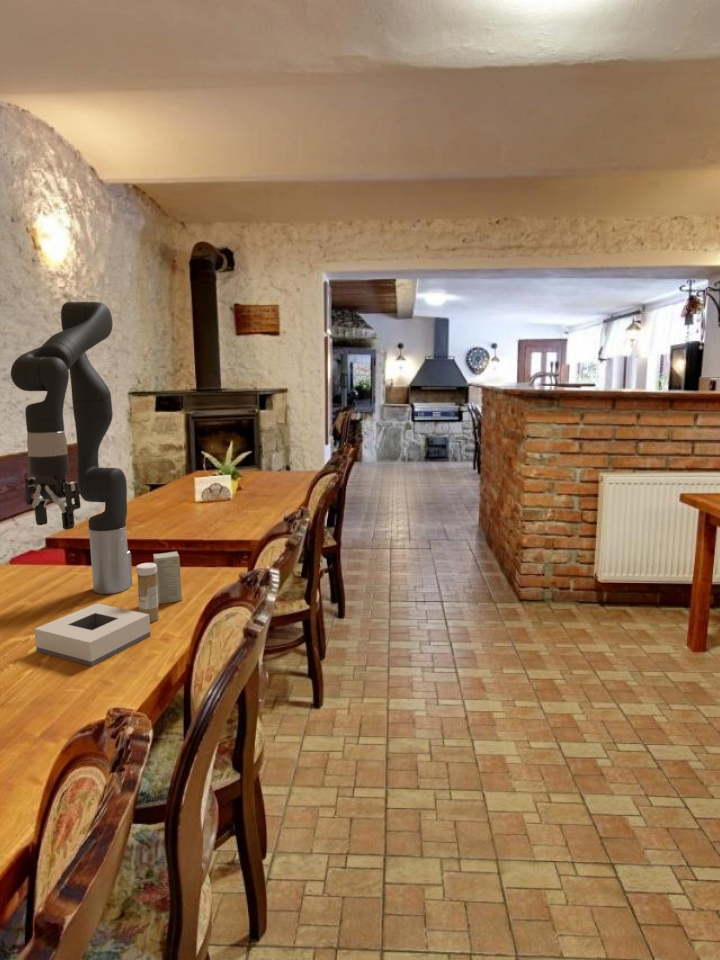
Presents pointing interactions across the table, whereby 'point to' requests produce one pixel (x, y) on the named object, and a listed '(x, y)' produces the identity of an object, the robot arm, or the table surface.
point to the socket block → (92, 633)
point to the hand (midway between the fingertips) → (55, 526)
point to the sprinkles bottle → (148, 590)
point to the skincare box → (168, 577)
